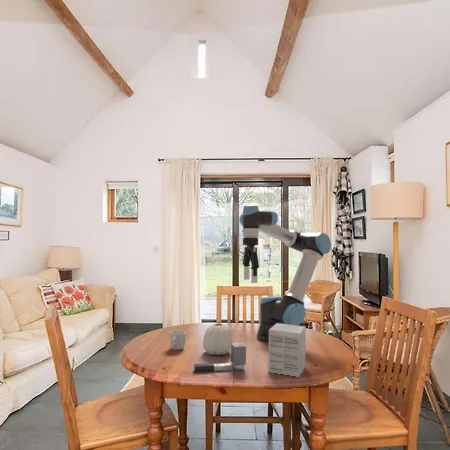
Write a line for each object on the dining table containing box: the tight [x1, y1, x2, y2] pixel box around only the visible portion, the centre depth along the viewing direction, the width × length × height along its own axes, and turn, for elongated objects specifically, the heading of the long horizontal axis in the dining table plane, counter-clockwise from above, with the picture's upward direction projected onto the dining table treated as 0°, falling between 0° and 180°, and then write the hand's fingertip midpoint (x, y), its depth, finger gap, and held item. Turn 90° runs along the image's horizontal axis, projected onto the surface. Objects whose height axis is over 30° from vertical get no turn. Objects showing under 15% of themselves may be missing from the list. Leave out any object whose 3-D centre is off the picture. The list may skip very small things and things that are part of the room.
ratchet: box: [193, 362, 245, 373], centre depth 147 cm, size 21×5×6 cm, turn 101°
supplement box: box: [267, 323, 307, 378], centre depth 149 cm, size 13×13×18 cm
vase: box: [202, 323, 233, 356], centre depth 170 cm, size 14×14×13 cm
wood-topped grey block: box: [230, 342, 247, 366], centre depth 149 cm, size 5×5×8 cm
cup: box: [169, 329, 187, 351], centre depth 174 cm, size 11×8×8 cm
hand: (250, 281), depth 172 cm, fingers open, 13 cm apart
